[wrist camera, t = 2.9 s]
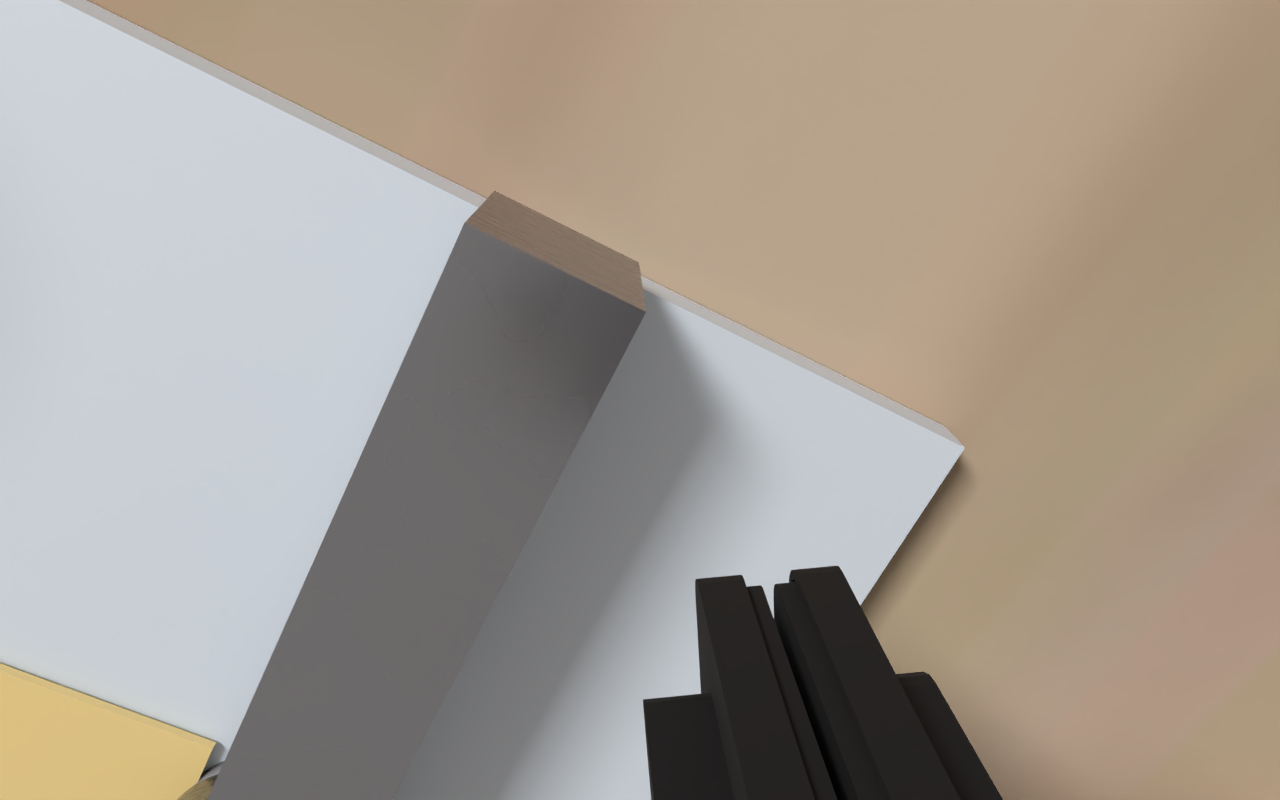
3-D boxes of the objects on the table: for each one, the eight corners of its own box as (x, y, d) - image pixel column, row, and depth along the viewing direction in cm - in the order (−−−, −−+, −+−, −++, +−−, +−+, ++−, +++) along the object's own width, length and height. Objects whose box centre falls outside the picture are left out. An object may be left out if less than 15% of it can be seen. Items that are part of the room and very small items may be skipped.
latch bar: (327, 955, 22) (258, 1173, 18) (133, 891, 21) (10, 1103, 17) (683, 285, 17) (708, 358, 13) (446, 166, 16) (386, 202, 12)
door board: (944, 426, 20) (1022, 509, 16) (544, 1041, 26) (533, 1209, 22) (-382, -232, 15) (-705, -331, 12) (-513, 694, 21) (-759, 830, 17)
